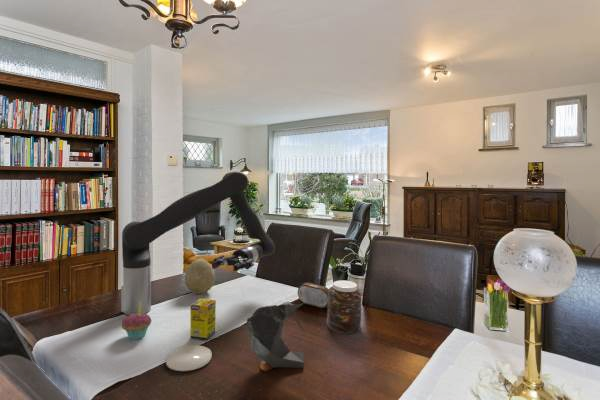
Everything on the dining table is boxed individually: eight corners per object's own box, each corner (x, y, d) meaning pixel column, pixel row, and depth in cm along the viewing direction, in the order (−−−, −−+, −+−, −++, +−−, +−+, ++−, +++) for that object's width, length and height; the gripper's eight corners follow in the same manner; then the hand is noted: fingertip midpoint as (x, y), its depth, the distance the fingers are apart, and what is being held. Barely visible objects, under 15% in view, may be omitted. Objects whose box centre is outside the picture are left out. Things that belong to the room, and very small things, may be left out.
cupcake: (157, 332, 111) (157, 296, 110) (136, 344, 103) (136, 305, 102) (136, 328, 113) (136, 293, 113) (114, 339, 105) (114, 301, 105)
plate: (156, 367, 91) (156, 362, 91) (184, 346, 102) (184, 342, 102) (194, 376, 87) (194, 371, 87) (219, 353, 99) (219, 349, 99)
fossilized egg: (192, 287, 156) (192, 255, 155) (219, 289, 154) (219, 256, 153) (179, 297, 143) (179, 261, 142) (208, 299, 141) (208, 263, 140)
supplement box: (207, 340, 106) (207, 306, 105) (189, 338, 107) (189, 304, 107) (216, 332, 112) (216, 299, 111) (199, 330, 113) (199, 298, 112)
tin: (332, 308, 135) (333, 287, 134) (328, 310, 132) (329, 289, 132) (300, 300, 143) (300, 280, 142) (296, 302, 140) (296, 282, 140)
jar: (364, 323, 121) (366, 282, 120) (355, 337, 111) (357, 291, 110) (333, 317, 126) (334, 277, 125) (321, 329, 116) (322, 286, 115)
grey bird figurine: (252, 350, 101) (252, 290, 100) (304, 352, 100) (305, 292, 99) (242, 379, 87) (243, 309, 85) (302, 381, 86) (304, 311, 85)
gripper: (229, 246, 137) (205, 254, 122) (261, 248, 132) (241, 258, 117) (229, 264, 138) (206, 275, 122) (261, 267, 133) (241, 279, 118)
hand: (223, 267), depth 120 cm, fingers open, 8 cm apart
